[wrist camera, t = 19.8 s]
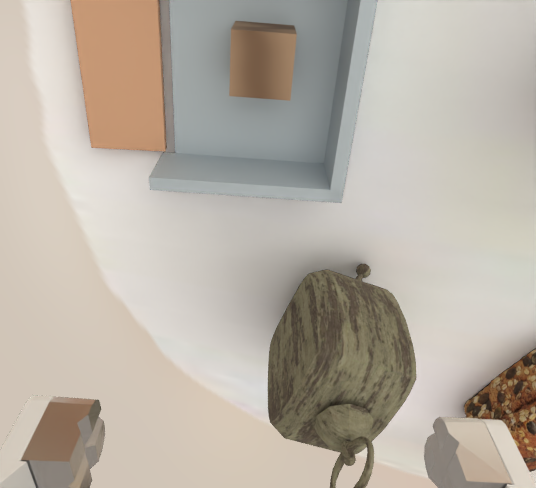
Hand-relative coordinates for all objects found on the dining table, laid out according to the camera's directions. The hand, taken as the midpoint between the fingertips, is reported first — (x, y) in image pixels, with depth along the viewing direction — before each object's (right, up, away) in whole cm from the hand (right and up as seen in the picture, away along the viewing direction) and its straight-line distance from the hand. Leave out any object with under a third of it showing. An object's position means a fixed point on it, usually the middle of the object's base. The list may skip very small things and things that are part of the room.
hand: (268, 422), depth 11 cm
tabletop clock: (+7, -1, +45) cm, 46 cm away
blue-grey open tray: (-1, +22, +30) cm, 37 cm away
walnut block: (0, +21, +29) cm, 36 cm away
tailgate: (-9, +22, +29) cm, 37 cm away
